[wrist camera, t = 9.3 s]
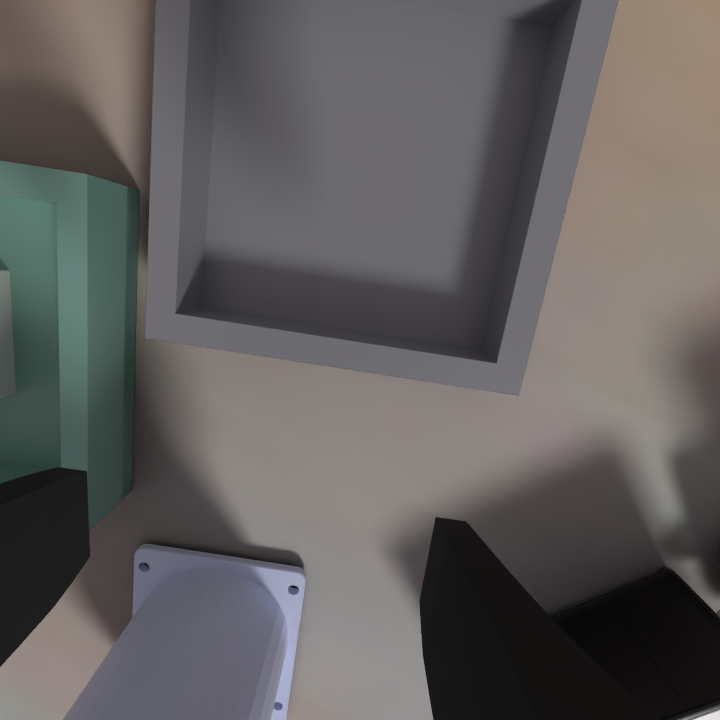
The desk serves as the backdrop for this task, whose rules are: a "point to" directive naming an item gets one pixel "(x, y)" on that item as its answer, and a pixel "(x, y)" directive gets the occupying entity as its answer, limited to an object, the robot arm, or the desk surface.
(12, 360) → the light gray block
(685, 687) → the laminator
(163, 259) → the bin
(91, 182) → the bin
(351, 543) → the desk surface
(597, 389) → the desk surface
